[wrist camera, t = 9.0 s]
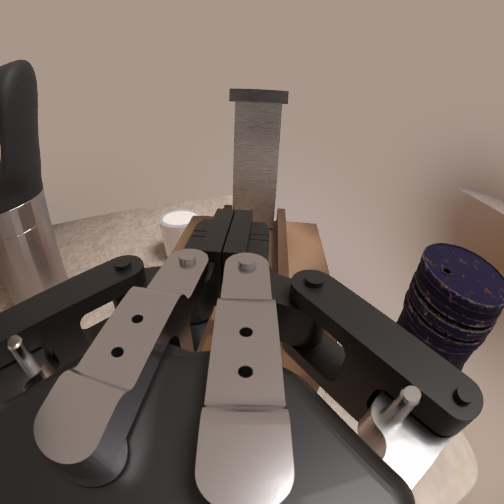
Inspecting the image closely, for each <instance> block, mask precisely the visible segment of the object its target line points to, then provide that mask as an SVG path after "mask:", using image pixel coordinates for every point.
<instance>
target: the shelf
mask: <svg viewBox="0 0 504 504" xmlns="http://www.w3.org/2000/svg"><path fill="white" fill-rule="evenodd" d="M223 209H232V205H225V206H224V208H223ZM204 219H213V217H211V216H193V217H192V218H191V220H190V222H189V223H188V225H187V227H186V228H185V230H184V232H183V233H182V235H181V237H180V238H179V240H178V242H177V244H176V245H175V247H174V249H173V250H172V252H171V254H172V253H174V252H176V251H178V250H182V249H184V247H185V245H186V243H187V241H188V240H189V238H190V236H191V234H192V232H193V231H194V228H195V227H196V225H197V224H198V223H199V222H201V221H202V220H204ZM171 254H170V255H171ZM268 263H269V266H270V268H271V269H272V270H273V271H275V272H276V273H278V274H280V275H282V276H285V277H288V278H292V276H293V275H294V274H295V273H297V272H299V271H302V270H309V269H310V270H318V271H322V272H324V273H326V274H328V275H329V271H328V267H327V263H326V259H325V255H324V251H323V248H322V243H321V240H320V236H319V233H318V229H317V225H316V224H310V223H298V222H286V217H285V209H278V210H277V221H274V222H273V228H270V235H269V259H268ZM215 313H216V306H214V309H213V313H212V324H211V326H210V329H209V332H208V335H207V338H206V340H205V343H204V346H203V349H202V351H211V344H212V336H213V328H214V321H215ZM324 332H325V333H326V334H327V335H328V336H329V337H330V338H332V339H333V340H334V341H335V342H336V343H337V340H336V339H335V338H334V337H332V336H331V335H330V334H329V333H328V332H327V331H324ZM280 349H281V359H282V367H284V368H286V369H288V370H290V371H292V372H294V373H295V374H297V375H298V376H300V377H301V378H302V379H303V380H305V381H306V382H307V383H308V384H309V385H310V386H311V387H312V388H313V389H314V390H315V391H316V393H317V391H318V388H319V385H318V384H317V383H316V382H315V381H314V380H313V379H312V378H311V377H310V376H309V375H308V374H307V373H306V372H305V371H304V370H303V369H302V368H301V367H300V366H299V365H298V364H297V363H296V362H295V361H294V360H293V359H292V358H291V357H290V356H289V355H288V354H287V353H286V352H285V351H284V349H283V348H282V343H281V342H280Z"/></svg>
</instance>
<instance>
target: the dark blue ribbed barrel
mask: <svg viewBox="0 0 504 504" xmlns="http://www.w3.org/2000/svg"><path fill="white" fill-rule="evenodd" d="M503 308H504V277H503V276H502V274H501V273H500V272H499V271H498V270H497V269H496V268H495V267H494V266H493V265H492V264H491V263H489V262H488V261H487V260H485V259H484V258H482V257H481V256H479V255H478V254H476V253H474V252H472V251H470V250H468V249H465V248H463V247H460V246H457V245H453V244H447V243H435V244H430V245H429V246H427V247H426V248H425V249H424V251H423V254H422V257H421V262H420V263H419V266H418V268H417V271H416V272H415V273H414V276H413V278H412V281H411V283H410V286H409V289H408V291H407V292H406V295H405V300H404V308H403V310H402V312H401V314H400V317H399V319H398V321H397V322H396V323H397V324H398V325H400V326H401V327H403V328H404V329H405V330H407V331H408V332H409V333H411V334H412V335H413V336H415V337H416V338H417V339H419V340H420V341H422V342H423V343H424V344H426V345H427V346H428V347H430V348H431V349H432V350H434V351H435V352H436V353H438V354H439V355H440V356H442V357H443V358H444V359H446V360H447V361H448V362H450V363H451V364H452V365H453V366H455V367H456V368H457V369H459V370H460V371H461V370H462V368H463V366H464V363H465V362H466V361H467V360H468V358H469V357H470V355H471V354H472V353H473V351H474V350H476V349H477V348H478V347H479V346H480V345H481V344H482V343H483V342H484V341H485V339H486V337H487V335H488V334H489V333H490V332H491V330H492V329H493V327H494V325H495V324H496V321H497V319H498V317H499V315H500V314H501V311H502V309H503Z"/></svg>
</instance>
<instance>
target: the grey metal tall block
mask: <svg viewBox="0 0 504 504" xmlns="http://www.w3.org/2000/svg"><path fill="white" fill-rule="evenodd" d="M229 101H235V129H234V168H233V170H234V172H233V209H235V211H236V209H238V210H253V222H265V223H266V224H267V226H268V227H269V228H273V222H274V207H275V197H276V183H277V170H278V155H279V142H280V127H281V126H280V125H281V111H282V104H287V103H288V91H277V90H258V89H230V100H229Z"/></svg>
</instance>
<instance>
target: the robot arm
mask: <svg viewBox="0 0 504 504" xmlns="http://www.w3.org/2000/svg"><path fill="white" fill-rule="evenodd" d="M37 98H38V94H37V81H36V76H35V72H34V70H33V67H32V66H31V64H30V63H29V62H28V61H26V60H17V61H13V62H10V63H8V64H5V65H3V66H0V145H1V160H0V277H1V280H2V282H3V284H4V286H5V289H6V291H7V293H8V295H9V297H10V299H11V301H12V303H13V305H14V306H13V307H11V308H9V309H7V310H5V311H3V312H1V313H0V504H415V500H414V496H413V493H412V491H411V489H412V487H413V486H414V485H415V484H416V483H417V482H418V480H419V479H420V478H421V477H422V475H423V474H424V473H425V472H426V470H427V469H428V468H429V467H430V465H431V464H432V463H433V461H434V460H435V459H436V457H437V456H438V454H439V453H440V452H441V450H442V449H443V447H444V446H445V444H446V443H447V442H448V441H449V440H450V439H452V438H453V437H454V436H455V435H457V434H458V433H459V432H460V431H461V430H462V429H463V428H465V427H466V426H467V425H468V424H469V423H470V422H472V420H474V419H475V418H476V417H477V416H478V415H479V414H480V412H481V410H482V407H483V395H482V392H481V391H480V388H479V387H478V385H477V384H476V383H475V382H474V381H473V380H472V379H470V378H469V377H468V376H467V375H465V374H464V373H463V372H461V371H460V370H459V369H457V368H456V367H455V366H453V365H452V364H451V363H450V362H448V361H447V360H446V359H444V358H443V357H442V356H440V355H439V354H438V353H436V352H435V351H434V350H432V349H431V348H430V347H428V346H427V345H426V344H424V343H423V342H422V341H420V340H419V339H417V338H416V337H415V336H413V335H412V334H411V333H409V332H408V331H407V330H405V329H404V328H403V327H401V326H400V325H398V324H397V323H396V322H394V321H393V320H392V319H390V318H389V317H387V316H386V315H385V314H383V313H382V312H380V311H379V310H378V309H376V308H375V307H373V306H372V305H371V304H369V303H368V302H366V301H365V300H364V299H362V298H361V297H360V296H358V295H356V294H355V293H354V292H353V291H351V290H349V289H348V288H347V287H345V286H344V285H343V284H341V283H340V282H338V281H337V280H335V279H334V278H333V277H331V276H330V275H328V274H326V273H324V272H322V271H318V270H310V269H309V270H302V271H299V272H297V273H295V274H294V275H293V276H292V278H288V277H285V276H282V275H280V274H278V273H276V272H275V271H273V270H272V269H271V268H270V266H269V263H268V259H269V235H270V228H269V227H268V226H267V224H266V223H265V222H253V210H238V209H236V211H235V209H219V208H218V209H217V211H216V213H215V215H214V217H213V219H204V220H202V221H201V222H199V223H198V224H197V225H196V227H195V228H194V231H193V232H192V234H191V236H190V238H189V240H188V241H187V243H186V245H185V247H184V249H182V250H178V251H176V252H174V253H172V254H171V255H169V257H168V258H167V259H166V261H165V262H164V263H163V265H162V266H159V267H151V268H144V265H143V261H142V260H141V259H140V258H139V257H137V256H132V255H125V256H120V257H117V258H114V259H112V260H110V261H107V262H105V263H103V264H101V265H98V266H96V267H94V268H92V269H90V270H87V271H85V272H83V273H81V274H79V275H77V276H74V277H72V278H70V279H68V277H67V274H66V271H65V268H64V265H63V262H62V259H61V256H60V252H59V249H58V246H57V242H56V239H55V235H54V232H53V228H52V224H51V221H50V217H49V212H48V208H47V204H46V199H45V195H44V190H43V184H42V179H41V160H40V149H39V138H38V99H37ZM111 301H113V304H114V307H115V310H114V312H113V313H112V315H111V316H110V317H109V318H107V319H105V320H103V321H101V322H99V323H97V324H95V325H94V326H92V327H90V328H88V329H81V326H80V321H81V319H82V317H83V316H84V315H85V314H87V313H89V312H91V311H93V310H95V309H97V308H99V307H101V306H103V305H105V304H107V303H109V302H111ZM214 306H216V313H215V321H214V328H213V336H212V344H211V351H202V349H203V346H204V343H205V340H206V338H207V335H208V332H209V329H210V326H211V324H212V313H213V309H214ZM324 331H327V332H328V333H329V334H330V335H331V336H332V337H334V338H335V339H336V340H337V341H338V342H339V343H340V344H341V345H342V346H343V348H344V349H343V348H342V347H341V346H340V345H339V344H337V343H336V342H335V341H334V340H333V339H332V338H330V337H329V336H328V335H327V334H326V333H325V332H324ZM280 342H281V343H282V348H283V349H284V351H285V352H286V353H287V354H288V355H289V356H290V357H291V358H292V359H293V360H294V361H295V362H296V363H297V364H298V365H299V366H300V367H301V368H302V369H303V370H304V371H305V372H306V373H307V374H308V375H309V376H310V377H311V378H312V379H313V380H314V381H315V382H316V383H317V384H318V385H319V386H320V387H321V388H323V389H324V390H325V391H326V392H327V393H328V394H329V395H330V396H331V397H332V398H333V399H334V400H335V401H336V402H337V403H338V404H339V405H340V406H341V407H343V408H344V409H345V410H346V411H347V412H348V413H349V414H350V415H351V416H352V417H353V418H354V419H355V420H357V421H358V422H359V424H358V435H357V434H356V433H355V432H354V431H353V430H352V429H351V428H350V427H349V426H348V425H347V423H346V422H345V421H344V420H343V419H342V418H341V417H340V416H339V415H338V414H337V413H336V412H335V411H334V410H333V409H332V408H331V407H330V406H329V405H328V404H327V403H326V402H325V401H324V400H323V399H322V398H321V397H320V396H319V395H318V394H317V393H316V391H315V390H314V389H313V388H312V387H311V386H310V385H309V384H308V383H307V382H306V381H305V380H303V379H302V378H301V377H300V376H298V375H297V374H295V373H294V372H292V371H290V370H288V369H286V368H284V367H282V359H281V349H280Z"/></svg>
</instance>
